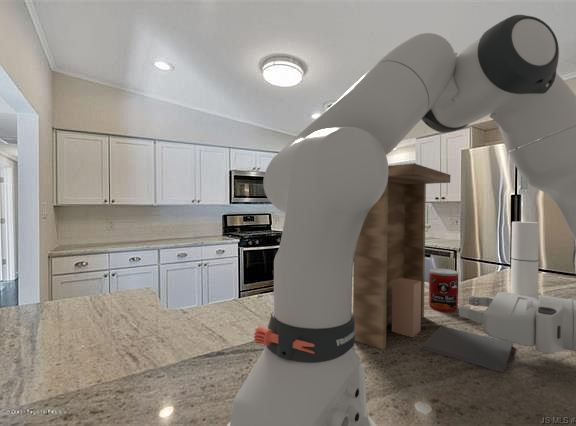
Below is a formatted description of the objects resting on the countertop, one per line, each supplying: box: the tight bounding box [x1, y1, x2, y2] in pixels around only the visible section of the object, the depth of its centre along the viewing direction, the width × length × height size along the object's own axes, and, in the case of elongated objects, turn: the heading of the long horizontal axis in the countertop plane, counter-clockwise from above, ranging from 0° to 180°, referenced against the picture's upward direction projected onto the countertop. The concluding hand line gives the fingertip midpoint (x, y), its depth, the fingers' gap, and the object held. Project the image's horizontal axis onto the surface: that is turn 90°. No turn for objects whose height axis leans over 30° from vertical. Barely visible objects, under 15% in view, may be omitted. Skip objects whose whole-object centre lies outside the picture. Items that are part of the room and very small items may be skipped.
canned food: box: [428, 267, 459, 313], centre depth 91 cm, size 8×8×11 cm
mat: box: [422, 325, 514, 374], centre depth 65 cm, size 14×14×1 cm
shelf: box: [352, 163, 451, 351], centre depth 73 cm, size 13×26×38 cm, turn 139°
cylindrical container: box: [510, 221, 540, 299], centre depth 102 cm, size 7×7×25 cm
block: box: [391, 278, 422, 338], centre depth 73 cm, size 5×5×12 cm
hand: (464, 305), depth 65 cm, fingers open, 8 cm apart
